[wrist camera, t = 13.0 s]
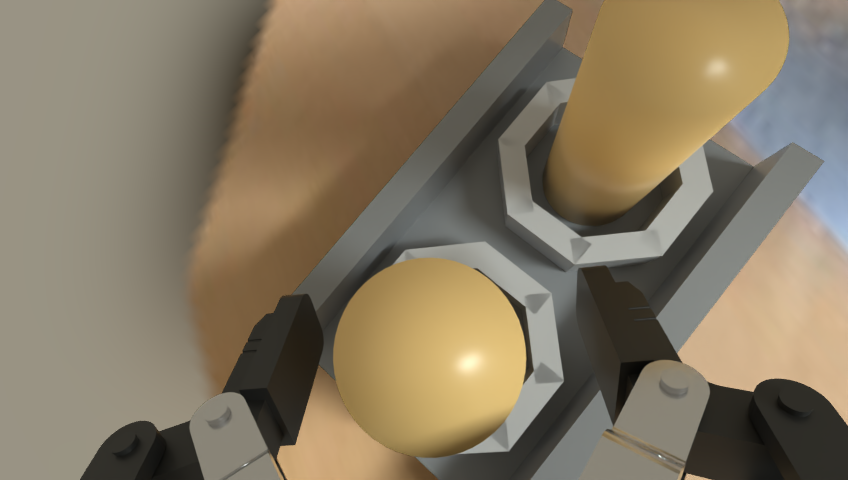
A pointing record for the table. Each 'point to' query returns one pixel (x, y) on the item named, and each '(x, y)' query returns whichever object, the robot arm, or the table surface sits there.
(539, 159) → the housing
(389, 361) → the domed yellow post
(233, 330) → the table surface
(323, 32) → the table surface
